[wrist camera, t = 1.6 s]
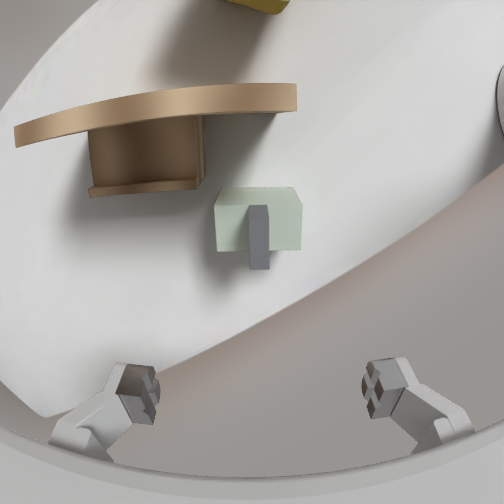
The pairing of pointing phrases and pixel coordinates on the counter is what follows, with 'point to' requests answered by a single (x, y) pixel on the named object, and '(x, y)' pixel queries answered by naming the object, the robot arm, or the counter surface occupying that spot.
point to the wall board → (154, 133)
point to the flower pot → (264, 5)
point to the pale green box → (258, 221)
